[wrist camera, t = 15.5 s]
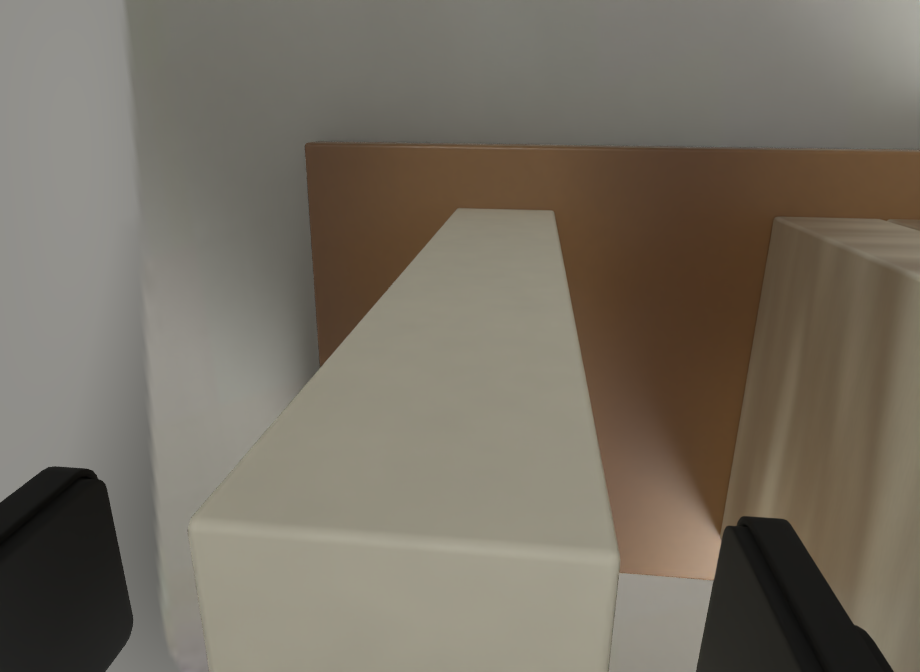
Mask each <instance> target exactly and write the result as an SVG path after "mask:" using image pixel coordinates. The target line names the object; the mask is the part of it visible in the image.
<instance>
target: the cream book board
mask: <svg viewBox="0 0 920 672" xmlns="http://www.w3.org/2000/svg"><path fill="white" fill-rule="evenodd" d="M305 157H306V172H307V187H308V202H309V216H310V231H311V246H312V261H313V275H314V290H315V305H316V320H317V334H318V349H319V364H320V368H321V366H322V365H323V364H324V363H325V362H326V361H327V359H328V358H329V357H330V356H331V355H332V354H333V352H334V351H335V350H336V349H337V348H338V347H339V345H340V344H341V343H342V342H343V341H344V340H345V339H346V337H347V336H348V335H349V334H350V333H351V332H352V330H353V329H354V328H355V327H356V326H357V325H358V323H359V322H360V321H361V320H362V319H363V318H364V316H365V315H366V314H367V313H368V312H369V311H370V309H371V308H372V307H373V306H374V305H375V304H376V303H377V301H378V300H379V299H380V298H381V297H382V296H383V294H384V293H385V292H386V291H387V290H388V289H389V287H390V286H391V285H392V284H393V283H394V282H395V280H396V279H397V278H398V277H399V276H400V275H401V273H402V272H403V271H404V270H405V269H406V268H407V266H408V265H409V264H410V263H411V262H412V261H413V260H414V258H415V257H416V256H417V255H418V254H419V253H420V251H421V250H422V249H423V248H424V247H425V246H426V244H427V243H428V242H429V241H430V240H431V239H432V237H433V236H434V235H435V234H436V233H437V232H438V230H439V229H440V228H441V227H442V226H443V225H444V224H445V222H446V221H447V220H448V219H449V218H450V217H451V215H452V214H453V213H454V212H455V211H456V210H457V209H458V208H471V209H512V210H552V211H554V215H555V220H556V225H557V230H558V235H559V241H560V246H561V251H562V256H563V262H564V267H565V272H566V277H567V282H568V288H569V293H570V298H571V303H572V309H573V314H574V319H575V324H576V329H577V335H578V340H579V345H580V350H581V356H582V361H583V366H584V371H585V376H586V382H587V387H588V392H589V397H590V403H591V408H592V413H593V418H594V423H595V429H596V434H597V439H598V444H599V450H600V455H601V460H602V465H603V470H604V476H605V481H606V486H607V491H608V497H609V502H610V507H611V512H612V517H613V523H614V528H615V533H616V538H617V544H618V549H619V554H620V559H621V561H620V570H619V573H630V574H642V575H654V576H666V577H679V578H691V579H703V580H714V577H715V572H716V567H717V562H718V557H719V551H720V546H721V541H722V536H723V532H724V529H725V528H726V526H736V525H737V522H738V520H739V519H740V517H742V516H751V517H765V518H779V519H785V520H787V521H788V522H789V523H790V524H791V525H792V527H793V529H794V530H795V532H796V533H797V535H798V537H799V538H800V540H801V541H802V543H803V544H804V546H805V548H806V549H807V551H808V552H809V554H810V556H811V557H812V559H813V560H814V562H815V564H816V565H817V567H818V568H819V570H820V571H821V573H822V575H823V576H824V578H825V579H826V581H827V583H828V584H829V586H830V587H831V589H832V591H833V592H834V594H835V595H836V597H837V598H838V600H839V602H840V603H841V605H842V606H843V608H844V610H845V611H846V613H847V614H848V616H849V618H850V619H851V621H852V622H853V624H854V625H857V626H859V627H860V628H862V629H864V630H865V631H866V632H867V633H868V634H869V635H870V637H871V638H872V639H873V640H874V642H875V643H876V645H877V646H878V648H879V649H880V651H881V652H882V654H883V655H884V657H885V659H886V660H887V662H888V663H889V665H890V666H891V668H892V669H893V671H894V672H920V150H902V149H829V148H757V147H685V146H612V145H540V144H468V143H395V142H323V141H318V142H309V143H306V144H305Z"/></svg>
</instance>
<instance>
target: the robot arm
mask: <svg viewBox="0 0 920 672" xmlns="http://www.w3.org/2000/svg"><path fill="white" fill-rule="evenodd" d="M132 627H133V615H132V610H131V605H130V600H129V596H128V590H127V585H126V581H125V576H124V571H123V566H122V562H121V556H120V551H119V546H118V542H117V537H116V531H115V526H114V522H113V517H112V512H111V507H110V502H109V497H108V492H107V488H106V486H105V483H104V482H103V481H101V480H99V479H98V478H97V475H96V474H95V473H94V472H93V471H92V470H89V469H83V468H69V467H48V468H46V469H45V470H43V471H41V472H40V473H39V474H37V475H36V476H35V477H33V478H32V479H31V480H29V481H28V482H27V483H25V484H24V485H23V486H22V487H20V488H19V489H18V490H16V491H15V492H14V493H12V494H11V495H10V496H8V497H7V498H6V499H4V500H3V501H2V502H1V503H0V672H105V671H106V670H107V669H108V667H109V666H110V665H111V663H112V662H113V661H114V659H115V658H116V657H117V655H118V654H119V652H120V651H121V650H122V648H123V647H124V646H125V644H126V642H127V641H128V639H129V637H130V634H131V631H132ZM696 672H894V671H893V669H892V668H891V666H890V665H889V663H888V662H887V660H886V659H885V657H884V655H883V654H882V652H881V651H880V649H879V648H878V646H877V645H876V643H875V642H874V640H873V639H872V638H871V637H870V635H869V634H868V633H867V632H866V631H865V630H864V629H862V628H860V627H859V626H857V625H854V624H853V622H852V621H851V619H850V618H849V616H848V614H847V613H846V611H845V610H844V608H843V606H842V605H841V603H840V602H839V600H838V598H837V597H836V595H835V594H834V592H833V591H832V589H831V587H830V586H829V584H828V583H827V581H826V579H825V578H824V576H823V575H822V573H821V571H820V570H819V568H818V567H817V565H816V564H815V562H814V560H813V559H812V557H811V556H810V554H809V552H808V551H807V549H806V548H805V546H804V544H803V543H802V541H801V540H800V538H799V537H798V535H797V533H796V532H795V530H794V529H793V527H792V525H791V524H790V523H789V522H788V521H787V520H785V519H779V518H765V517H751V516H742V517H740V519H739V520H738V522H737V525H736V526H726V528H725V529H724V532H723V536H722V541H721V546H720V551H719V557H718V562H717V567H716V572H715V577H714V582H713V587H712V592H711V597H710V603H709V608H708V613H707V618H706V623H705V628H704V633H703V638H702V644H701V649H700V654H699V659H698V664H697V670H696Z"/></svg>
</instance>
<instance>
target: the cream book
mask: <svg viewBox="0 0 920 672" xmlns="http://www.w3.org/2000/svg"><path fill="white" fill-rule="evenodd" d="M188 537H189V544H190V550H191V556H192V563H193V569H194V576H195V582H196V589H197V595H198V602H199V608H200V615H201V621H202V628H203V634H204V640H205V647H206V653H207V660H208V666H209V672H608V670H609V661H610V651H611V642H612V633H613V624H614V615H615V606H616V597H617V588H618V579H619V570H620V561H621V559H620V554H619V549H618V544H617V538H616V533H615V528H614V523H613V517H612V512H611V507H610V502H609V497H608V491H607V486H606V481H605V476H604V470H603V465H602V460H601V455H600V450H599V444H598V439H597V434H596V429H595V423H594V418H593V413H592V408H591V403H590V397H589V392H588V387H587V382H586V376H585V371H584V366H583V361H582V356H581V350H580V345H579V340H578V335H577V329H576V324H575V319H574V314H573V309H572V303H571V298H570V293H569V288H568V282H567V277H566V272H565V267H564V262H563V256H562V251H561V246H560V241H559V235H558V230H557V225H556V220H555V215H554V211H552V210H512V209H471V208H458V209H457V210H456V211H455V212H454V213H453V214H452V215H451V217H450V218H449V219H448V220H447V221H446V222H445V224H444V225H443V226H442V227H441V228H440V229H439V230H438V232H437V233H436V234H435V235H434V236H433V237H432V239H431V240H430V241H429V242H428V243H427V244H426V246H425V247H424V248H423V249H422V250H421V251H420V253H419V254H418V255H417V256H416V257H415V258H414V260H413V261H412V262H411V263H410V264H409V265H408V266H407V268H406V269H405V270H404V271H403V272H402V273H401V275H400V276H399V277H398V278H397V279H396V280H395V282H394V283H393V284H392V285H391V286H390V287H389V289H388V290H387V291H386V292H385V293H384V294H383V296H382V297H381V298H380V299H379V300H378V301H377V303H376V304H375V305H374V306H373V307H372V308H371V309H370V311H369V312H368V313H367V314H366V315H365V316H364V318H363V319H362V320H361V321H360V322H359V323H358V325H357V326H356V327H355V328H354V329H353V330H352V332H351V333H350V334H349V335H348V336H347V337H346V339H345V340H344V341H343V342H342V343H341V344H340V345H339V347H338V348H337V349H336V350H335V351H334V352H333V354H332V355H331V356H330V357H329V358H328V359H327V361H326V362H325V363H324V364H323V365H322V366H321V368H320V369H319V370H318V371H317V372H316V373H315V375H314V376H313V377H312V378H311V379H310V380H309V382H308V383H307V384H306V385H305V386H304V387H303V388H302V390H301V391H300V392H299V393H298V394H297V395H296V397H295V398H294V399H293V400H292V401H291V402H290V404H289V405H288V406H287V407H286V408H285V409H284V411H283V412H282V413H281V414H280V415H279V416H278V418H277V419H276V420H275V421H274V422H273V423H272V424H271V426H270V427H269V428H268V429H267V430H266V431H265V433H264V434H263V435H262V436H261V437H260V438H259V440H258V441H257V442H256V443H255V444H254V445H253V447H252V448H251V449H250V450H249V451H248V452H247V454H246V455H245V456H244V457H243V458H242V459H241V460H240V462H239V463H238V464H237V465H236V466H235V467H234V469H233V470H232V471H231V472H230V473H229V474H228V476H227V477H226V478H225V479H224V480H223V481H222V483H221V484H220V485H219V486H218V487H217V488H216V490H215V491H214V492H213V493H212V494H211V495H210V497H209V498H208V499H207V500H206V501H205V502H204V503H203V505H202V506H201V507H200V508H199V509H198V510H197V512H196V513H195V514H194V515H193V516H192V517H191V519H190V522H189V526H188Z"/></svg>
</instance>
